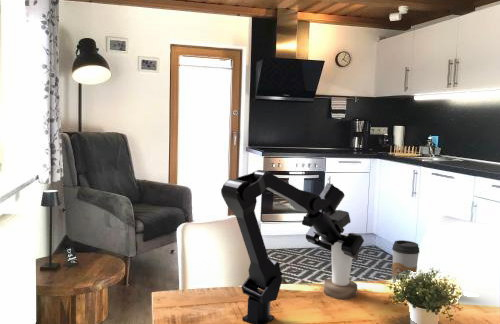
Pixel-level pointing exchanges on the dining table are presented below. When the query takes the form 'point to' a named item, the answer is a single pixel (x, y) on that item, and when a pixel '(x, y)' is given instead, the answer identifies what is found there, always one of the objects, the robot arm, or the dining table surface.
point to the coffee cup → (404, 257)
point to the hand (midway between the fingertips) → (345, 254)
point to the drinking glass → (340, 265)
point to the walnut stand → (340, 290)
